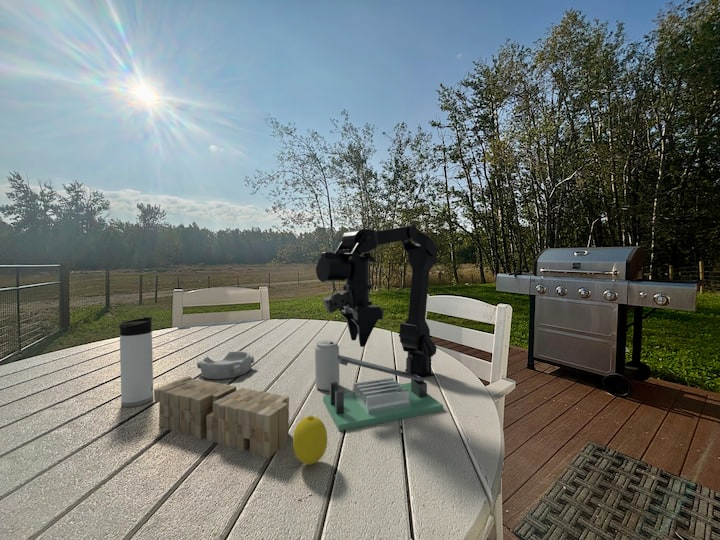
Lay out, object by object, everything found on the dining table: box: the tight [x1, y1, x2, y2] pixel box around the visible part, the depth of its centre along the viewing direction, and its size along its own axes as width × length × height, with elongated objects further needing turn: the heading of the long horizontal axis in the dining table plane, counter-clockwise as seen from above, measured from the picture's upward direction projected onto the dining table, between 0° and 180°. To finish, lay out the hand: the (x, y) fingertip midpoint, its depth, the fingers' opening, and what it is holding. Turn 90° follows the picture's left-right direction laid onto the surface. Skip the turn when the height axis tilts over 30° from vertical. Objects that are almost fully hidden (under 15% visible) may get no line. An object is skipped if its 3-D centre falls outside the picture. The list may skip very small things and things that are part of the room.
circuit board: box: [322, 382, 444, 432], centre depth 70 cm, size 24×14×1 cm, turn 110°
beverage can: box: [314, 339, 341, 392], centre depth 81 cm, size 6×6×12 cm
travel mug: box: [119, 316, 154, 408], centre depth 74 cm, size 6×7×20 cm
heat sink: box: [329, 376, 428, 414], centre depth 70 cm, size 22×10×5 cm, turn 110°
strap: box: [337, 354, 425, 383], centre depth 70 cm, size 22×3×1 cm, turn 109°
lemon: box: [292, 414, 328, 466], centre depth 50 cm, size 6×6×8 cm
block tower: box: [153, 375, 290, 458], centre depth 61 cm, size 8×8×29 cm
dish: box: [196, 350, 255, 380], centre depth 94 cm, size 14×14×5 cm
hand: (357, 343), depth 76 cm, fingers open, 6 cm apart
